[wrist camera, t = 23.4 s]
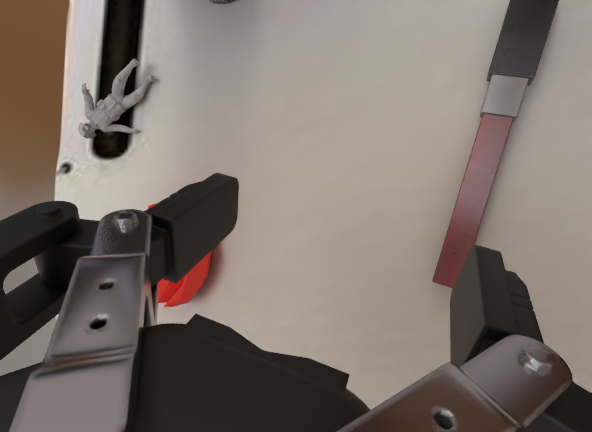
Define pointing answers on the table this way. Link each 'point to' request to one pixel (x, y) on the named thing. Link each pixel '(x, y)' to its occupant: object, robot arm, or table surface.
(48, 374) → the robot arm
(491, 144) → the paintbrush
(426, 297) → the table surface
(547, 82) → the table surface
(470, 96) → the table surface
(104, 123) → the soldier figure
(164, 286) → the animal figurine
